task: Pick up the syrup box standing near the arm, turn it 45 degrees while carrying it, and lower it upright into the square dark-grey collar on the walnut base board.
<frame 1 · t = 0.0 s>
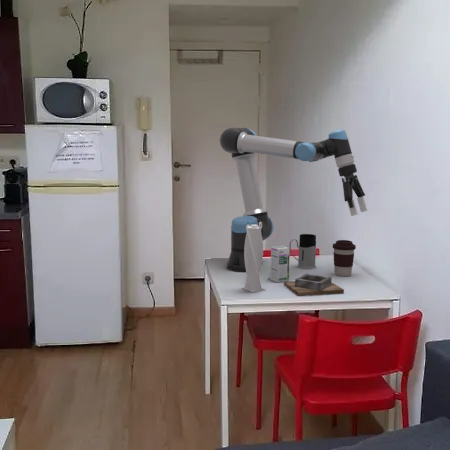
hand: (359, 213, 245), 28 cm above the table, tool tilted 20°, fingers open, 13 cm apart
skyscraper: (253, 291, 226), on the table
glass holder: (301, 268, 265), on the table
syrup box: (279, 280, 242), on the table
coffee cup: (342, 274, 253), on the table
socket board: (313, 289, 228), on the table
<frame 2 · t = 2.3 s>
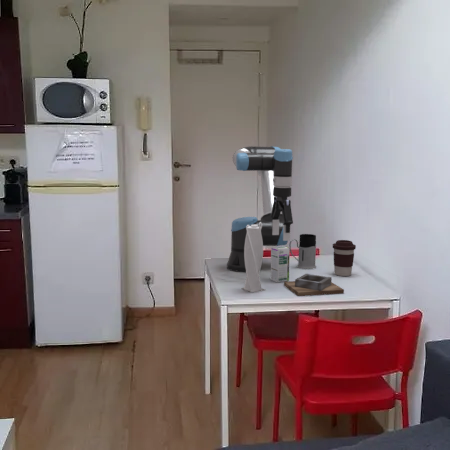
hand: (280, 237, 238), 18 cm above the table, tool pointing down, fingers open, 13 cm apart
nothing on the table moved.
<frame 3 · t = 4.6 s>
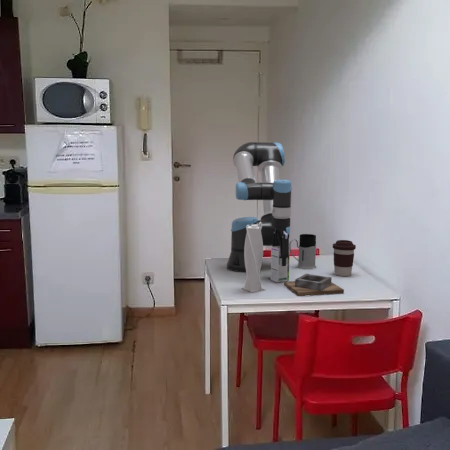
hand: (279, 271, 241), 4 cm above the table, tool pointing down, fingers closed on syrup box, 6 cm apart
syrup box: (279, 280, 242), on the table, touching gripper
everything else where it was.
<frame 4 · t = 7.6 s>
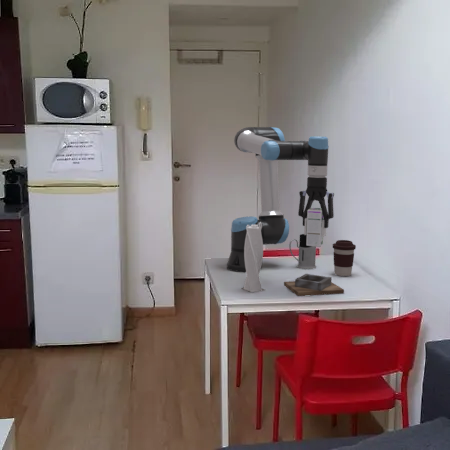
hand: (314, 235, 225), 22 cm above the table, tool pointing down, fingers closed on syrup box, 6 cm apart
syrup box: (314, 245, 225), point 18 cm above the table, touching gripper
everything else where it was.
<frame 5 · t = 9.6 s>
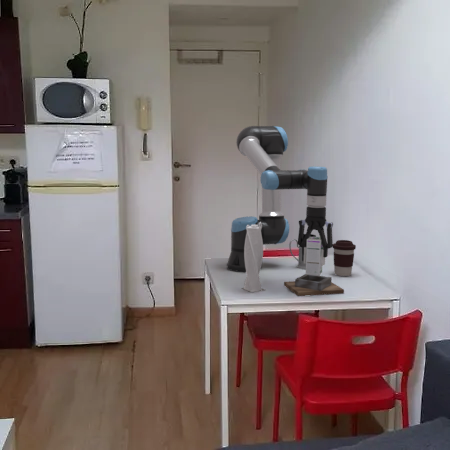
hand: (314, 263, 227), 10 cm above the table, tool pointing down, fingers closed on syrup box, 6 cm apart
syrup box: (313, 274, 227), point 6 cm above the table, touching gripper
everything else where it was.
when the fingers open (7 cm above the table, at t = 11.0 s): syrup box drops 2 cm, resting on socket board.
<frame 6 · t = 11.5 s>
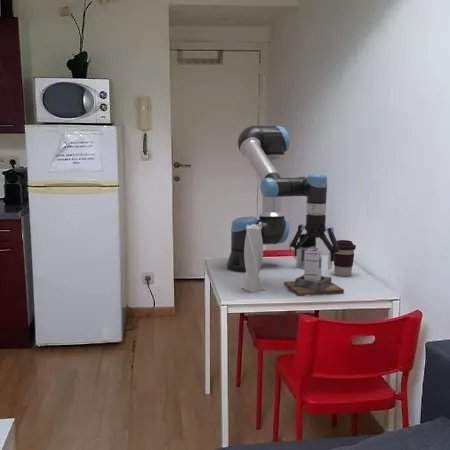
hand: (314, 267, 227), 9 cm above the table, tool pointing down, fingers open, 13 cm apart
syrup box: (312, 285, 228), point 1 cm above the table, touching socket board
everything else where it was.
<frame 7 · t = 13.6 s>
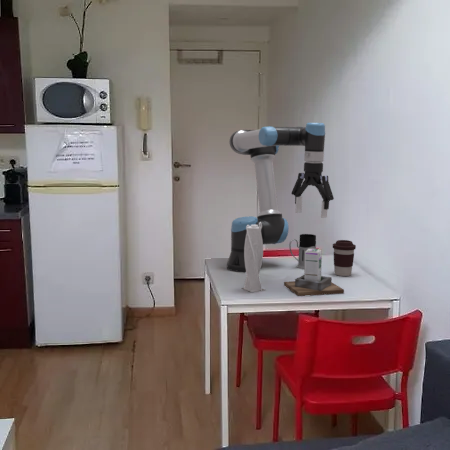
hand: (310, 215, 230), 29 cm above the table, tool pointing down, fingers open, 13 cm apart
nothing on the table moved.
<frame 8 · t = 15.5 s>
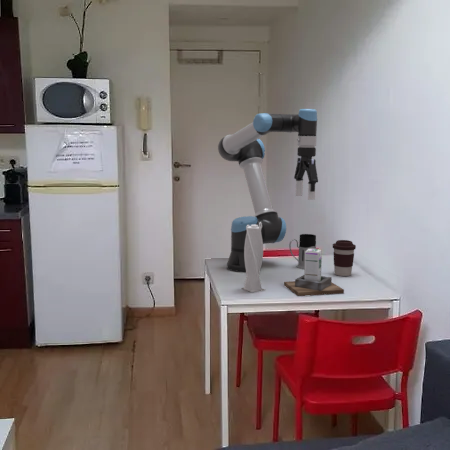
hand: (305, 197, 241), 35 cm above the table, tool pointing down, fingers open, 13 cm apart
nothing on the table moved.
at the end: syrup box 0.4 cm off-centre on the socket board, point 1.3 cm above the socket board's base; syrup box tilted 0°; the gripper is holding nothing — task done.
